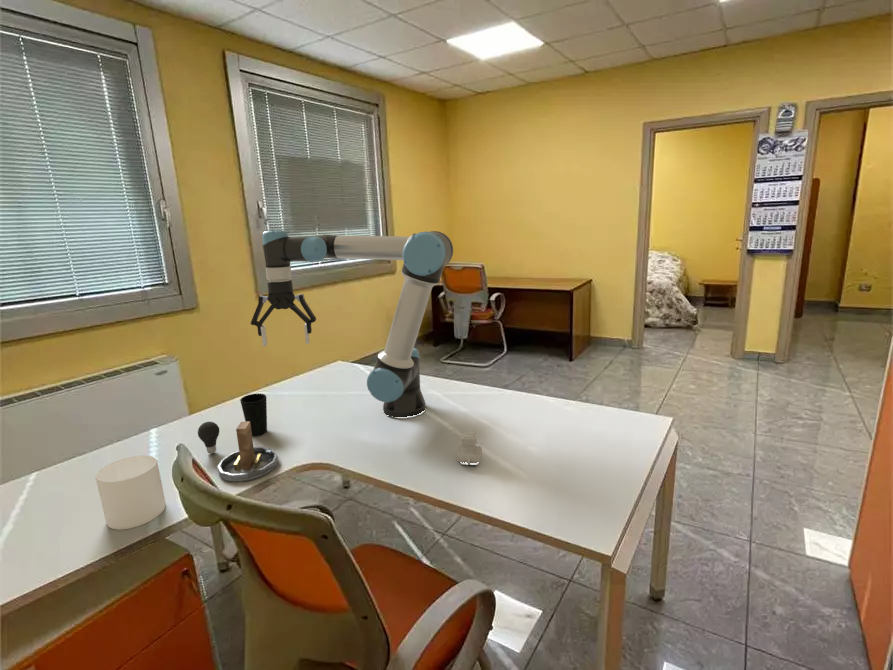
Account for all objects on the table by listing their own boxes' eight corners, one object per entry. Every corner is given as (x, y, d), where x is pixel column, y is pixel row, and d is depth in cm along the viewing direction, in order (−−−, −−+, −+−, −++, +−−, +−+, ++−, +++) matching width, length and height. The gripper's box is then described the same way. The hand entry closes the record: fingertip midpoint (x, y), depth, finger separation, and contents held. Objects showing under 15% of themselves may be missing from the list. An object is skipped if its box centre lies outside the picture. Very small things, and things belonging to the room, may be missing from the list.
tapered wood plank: (255, 460, 128) (250, 421, 125) (251, 468, 124) (245, 428, 121) (246, 460, 128) (240, 421, 125) (241, 469, 124) (236, 429, 121)
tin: (282, 451, 134) (281, 443, 134) (270, 479, 120) (269, 470, 119) (229, 456, 132) (227, 448, 132) (210, 485, 118) (209, 476, 117)
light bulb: (227, 450, 136) (222, 419, 133) (212, 459, 131) (206, 427, 128) (212, 447, 138) (207, 417, 135) (197, 456, 132) (191, 425, 130)
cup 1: (140, 495, 114) (131, 452, 111) (177, 502, 111) (169, 458, 108) (93, 525, 103) (82, 478, 100) (132, 534, 100) (122, 486, 97)
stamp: (481, 471, 122) (481, 443, 120) (456, 470, 123) (456, 442, 121) (481, 454, 131) (482, 428, 129) (459, 454, 131) (458, 427, 129)
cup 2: (261, 438, 143) (256, 403, 140) (239, 437, 144) (234, 401, 141) (275, 428, 150) (271, 394, 147) (254, 426, 151) (250, 392, 148)
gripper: (321, 277, 150) (326, 339, 155) (241, 280, 147) (250, 343, 152) (318, 280, 143) (323, 345, 148) (234, 283, 139) (243, 349, 145)
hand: (286, 344), depth 150 cm, fingers open, 13 cm apart
